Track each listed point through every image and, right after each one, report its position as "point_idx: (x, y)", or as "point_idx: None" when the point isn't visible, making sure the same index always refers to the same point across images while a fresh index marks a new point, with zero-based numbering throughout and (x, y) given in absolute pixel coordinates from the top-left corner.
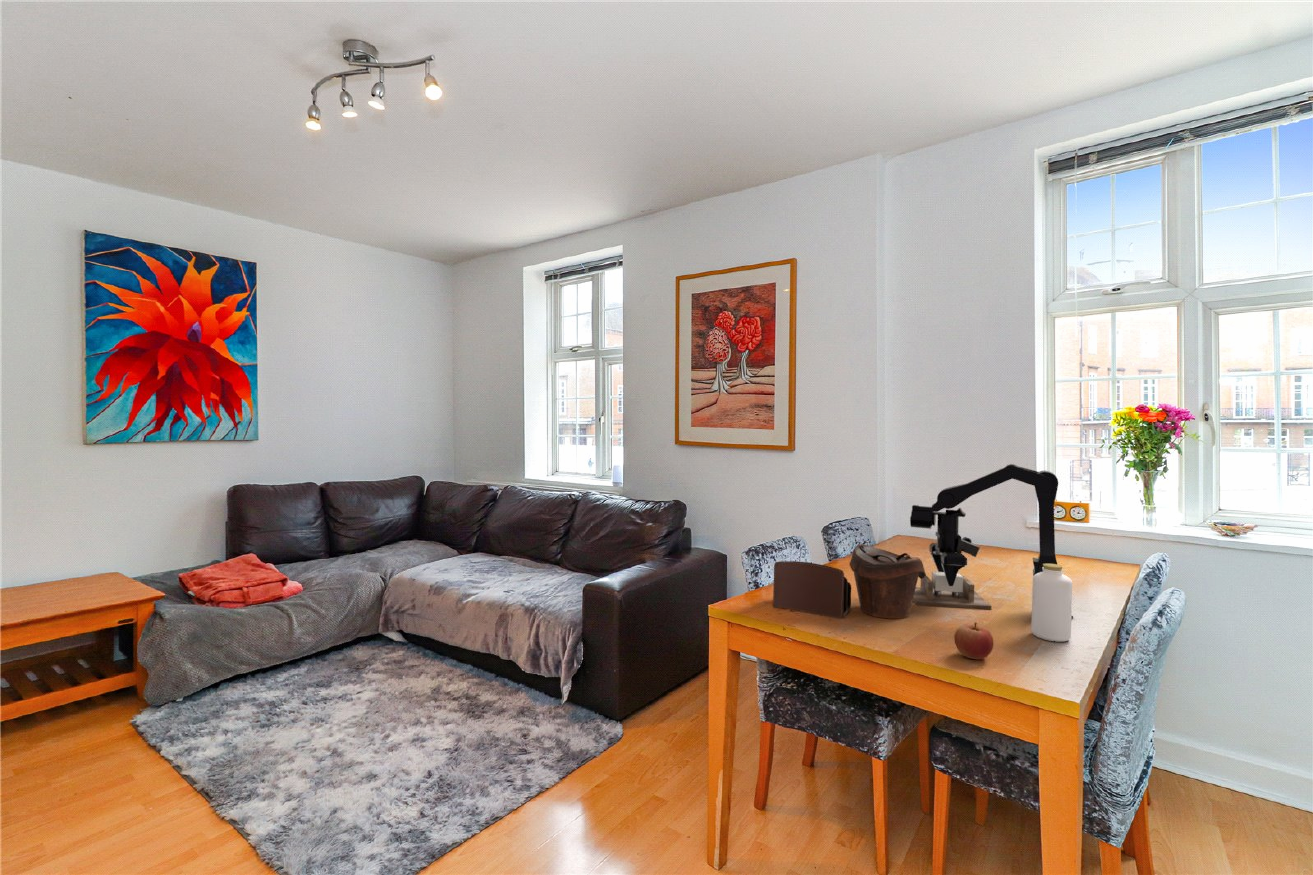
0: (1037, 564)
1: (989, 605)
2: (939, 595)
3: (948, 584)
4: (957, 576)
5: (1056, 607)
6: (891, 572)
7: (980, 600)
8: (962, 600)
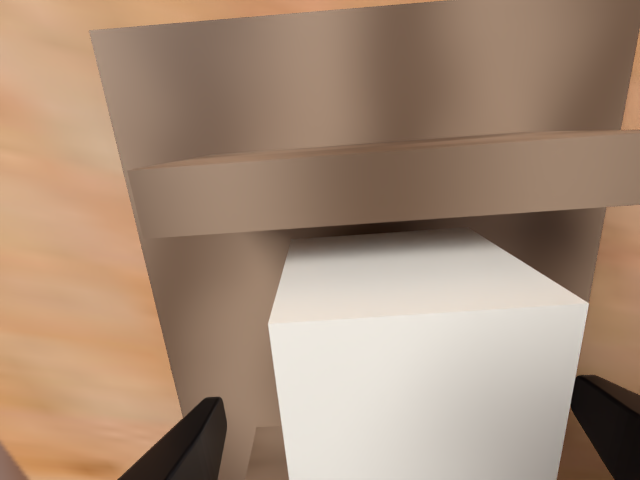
0: None
1: (633, 2)
2: None
3: (585, 423)
4: (548, 380)
5: None
6: None
7: (464, 53)
8: (489, 221)
